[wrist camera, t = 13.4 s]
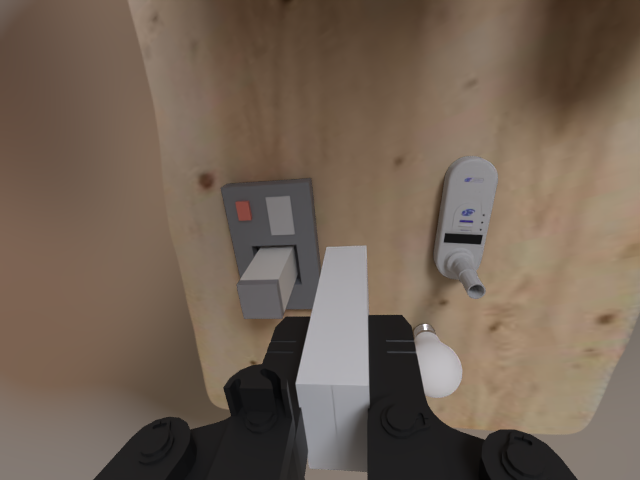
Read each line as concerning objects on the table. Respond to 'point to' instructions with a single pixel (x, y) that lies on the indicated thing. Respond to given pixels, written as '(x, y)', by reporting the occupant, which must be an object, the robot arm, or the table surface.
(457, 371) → the light bulb
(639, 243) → the table surface
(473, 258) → the electronic device
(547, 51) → the table surface
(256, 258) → the plug
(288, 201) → the socket block
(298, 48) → the table surface
